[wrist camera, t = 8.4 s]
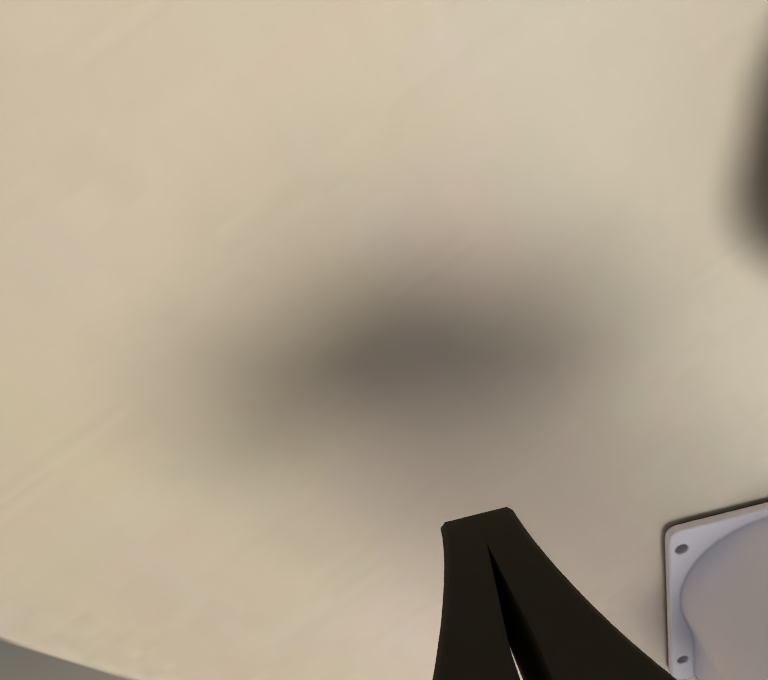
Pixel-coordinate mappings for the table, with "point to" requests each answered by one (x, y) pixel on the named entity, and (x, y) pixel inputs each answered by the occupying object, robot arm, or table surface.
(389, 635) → the table surface
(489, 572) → the robot arm
